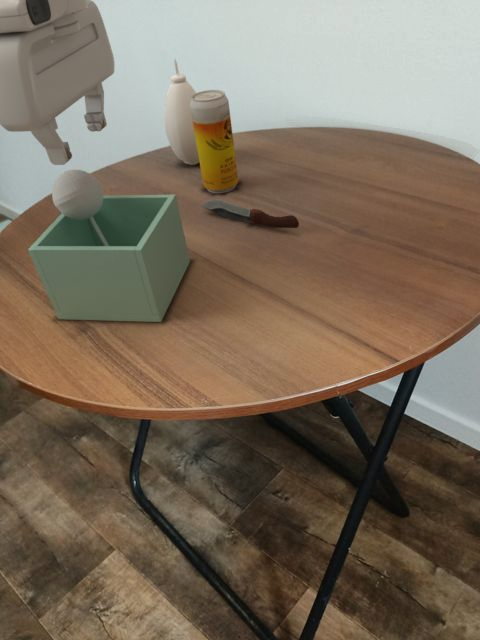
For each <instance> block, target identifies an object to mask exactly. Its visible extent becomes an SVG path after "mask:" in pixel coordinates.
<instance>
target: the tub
mask: <svg viewBox="0 0 480 640" xmlns="http://www.w3.org/2000/svg"><path fill="white" fill-rule="evenodd" d="M180 213H181V212H180V209H179V203H178V198H177V194H126V195H125V194H123V195H122V194H121V195H119V194H118V195H103V203H102V206H101V208H100V210H99V211H98V212H97V213H96V214H95V215H94V216H92V217H93V218H94V220H95V222H96V224H97V225H98V227H99V229H100V231H101V233H102V234H103V236H104V238H105V240H106V241H107V243H108V245H109V246H105V245H104V243H103V242H102V240H101V238H100V236H99V235H98V233H97V231H96V229H95V228H94V226H93V224H92V222H91V221H90V219H89V218H88V219H84V220H76V219H72V218H69V217H67V216H66V215H64V214H63V213H62V212H61V213H60V214H59V215H58V216H57V218H56V219H55V220H54V221H53V222H52V223H51V224H50V225H49V226H48V228H46V229H45V230H44V232H42V234H41V235H40V236H39V237H38V238H37V239H36V240H35V241H34V242H33V243H32V244H31V245H30V246H29V248H28V249H27V251H28V255H29V257H30V258H31V260H32V263H33V265H34V267H35V270H36V272H37V274H38V277H39V279H40V281H41V283H42V286H43V287H44V290H45V293H46V295H47V297H48V299H49V301H50V303H51V306H52V308H53V310H54V312H55V315H56V317H57V319H58V320H69V321H70V320H73V321H76V320H77V321H103V322H105V321H106V322H107V321H108V322H109V321H111V322H139V323H142V322H145V323H161V322H162V321H163V320H164V317H165V314H166V313H167V310H168V308H169V306H170V304H171V302H172V300H173V298H174V296H175V294H176V292H177V289H178V288H179V285H180V283H181V281H182V279H183V277H184V275H185V273H186V271H187V269H188V267H189V265H190V262H191V261H190V256H189V255H190V254H189V250H188V247H187V241H186V237H185V231H184V227H183V223H182V218H181V214H180Z"/></svg>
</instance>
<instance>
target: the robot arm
mask: <svg viewBox="0 0 480 640" xmlns="http://www.w3.org/2000/svg"><path fill="white" fill-rule="evenodd" d="M114 73H115V57H114V53H113V49H112V46H111V43H110V39H109V36H108V32H107V29H106V26H105V23H104V20H103V17H102V15H101V12H100V9H99V7H98V5H97V4H96V3H95V2H94V1H93V0H0V126H1V127H2V128H3V129H5V130H6V131H7V132H13V133H14V132H15V133H16V132H18V133H19V132H30V133H31V134H32V136H33V137H34V138H35V139H36V140H37V141H38V143H39V144H40V145H41V146H42V147H43V149H44V150H45V151H46V154H47V157H48V159H49V162H50V163H51V164H52V165H54V166H64V165H66V164H67V163H68V162H69V161H70V160H71V159H72V158H73V154H72V152H71V149H70V148H71V147H70V144H69V141H63V140H62V138H61V137H60V135H59V134H58V132H57V130H58V129H59V125H58V123H57V120H56V118H57V117H58V116H59V115H61V114H62V113H64V112H65V111H66V110H67V109H68V108H70V107H72V105H74V104H76V103H77V102H78V101H80V100H81V99H82V98H83V97H84V104H85V112H86V113H85V114H84V115H83V117H84V118H83V119H84V120H85V123H86V128H87V130H88V131H89V132H101V131H102V130H103V129H105V128H106V127H107V126H108V125H107V120H106V116H105V112H104V111H105V91H104V87H103V82H104V81H106V80H107V79H108V78H110V77H111V76H112V75H114Z"/></svg>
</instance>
